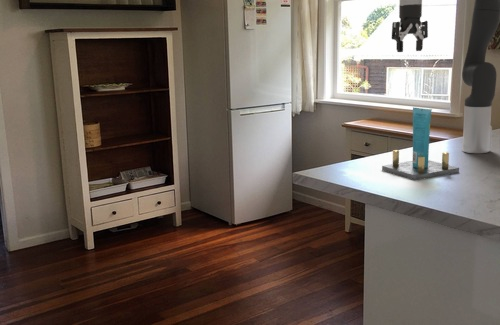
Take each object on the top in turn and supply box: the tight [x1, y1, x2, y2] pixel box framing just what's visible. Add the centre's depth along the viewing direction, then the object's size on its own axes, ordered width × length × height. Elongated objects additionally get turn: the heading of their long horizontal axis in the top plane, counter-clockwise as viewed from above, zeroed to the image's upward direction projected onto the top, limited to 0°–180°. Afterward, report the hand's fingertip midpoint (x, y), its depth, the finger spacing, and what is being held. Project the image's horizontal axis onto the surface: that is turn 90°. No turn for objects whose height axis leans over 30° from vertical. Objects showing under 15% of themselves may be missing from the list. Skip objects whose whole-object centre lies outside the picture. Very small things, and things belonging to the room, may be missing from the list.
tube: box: [412, 106, 433, 168], centre depth 174 cm, size 7×5×19 cm, turn 38°
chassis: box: [381, 149, 460, 181], centre depth 176 cm, size 18×16×6 cm
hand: (409, 51), depth 191 cm, fingers open, 8 cm apart
